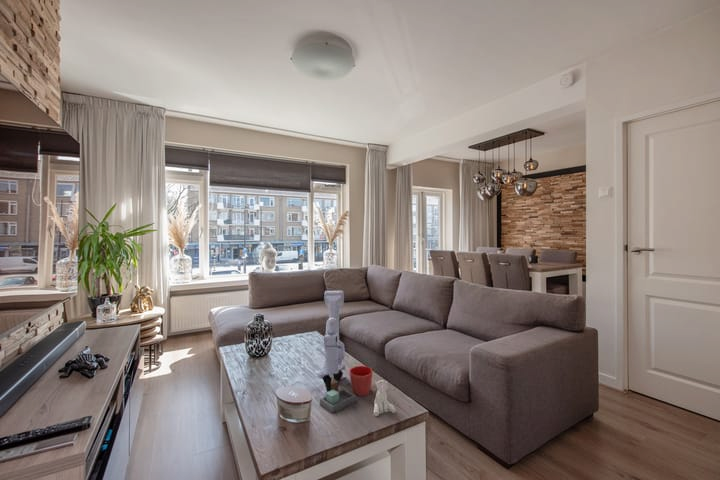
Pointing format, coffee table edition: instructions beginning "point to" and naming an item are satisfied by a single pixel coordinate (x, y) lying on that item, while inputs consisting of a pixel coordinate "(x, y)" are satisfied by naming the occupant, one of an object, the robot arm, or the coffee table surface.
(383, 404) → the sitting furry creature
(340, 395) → the tray
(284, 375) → the coffee table surface
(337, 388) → the walnut block
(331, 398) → the teal block
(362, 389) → the flower pot
